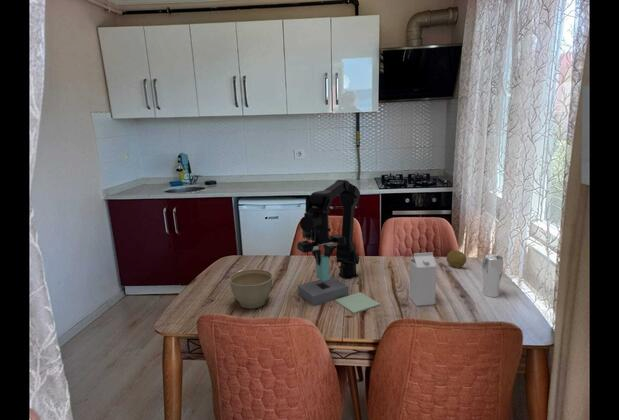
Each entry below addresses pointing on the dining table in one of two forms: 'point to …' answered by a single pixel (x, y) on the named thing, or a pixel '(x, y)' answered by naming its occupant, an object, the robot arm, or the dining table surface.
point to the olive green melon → (456, 258)
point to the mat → (357, 302)
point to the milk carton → (423, 279)
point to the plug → (323, 268)
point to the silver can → (492, 274)
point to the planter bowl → (251, 287)
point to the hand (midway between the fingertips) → (322, 264)
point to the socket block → (323, 291)
